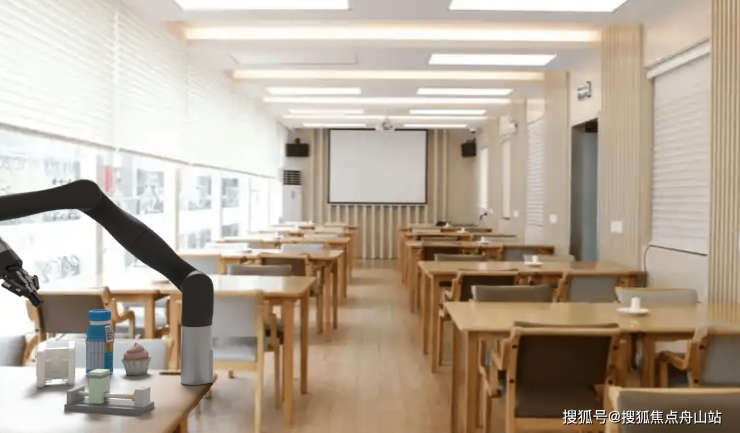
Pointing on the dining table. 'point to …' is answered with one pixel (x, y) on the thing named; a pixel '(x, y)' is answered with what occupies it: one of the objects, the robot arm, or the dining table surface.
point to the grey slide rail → (110, 402)
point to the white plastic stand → (55, 363)
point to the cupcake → (136, 360)
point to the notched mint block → (99, 385)
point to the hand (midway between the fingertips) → (40, 304)
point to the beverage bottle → (99, 341)
